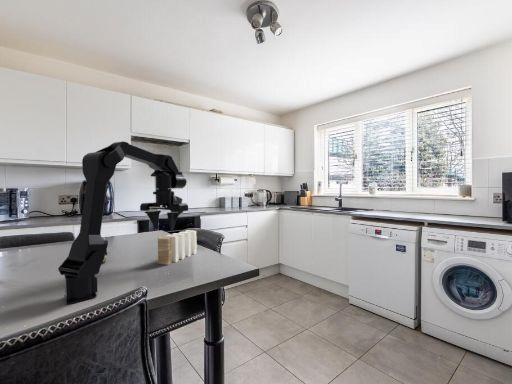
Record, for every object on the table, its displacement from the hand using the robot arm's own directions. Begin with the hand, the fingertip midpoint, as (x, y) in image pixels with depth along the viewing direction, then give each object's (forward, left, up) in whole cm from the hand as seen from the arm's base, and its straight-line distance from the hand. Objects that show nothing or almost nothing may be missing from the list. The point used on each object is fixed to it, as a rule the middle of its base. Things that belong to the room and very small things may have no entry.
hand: (164, 229), depth 96 cm
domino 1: (0, 0, -13) cm, 13 cm away
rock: (-21, +19, -13) cm, 32 cm away
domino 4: (+11, +5, -13) cm, 18 cm away
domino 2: (+4, +2, -13) cm, 14 cm away
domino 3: (+7, +3, -13) cm, 15 cm away
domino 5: (+14, +7, -13) cm, 21 cm away
